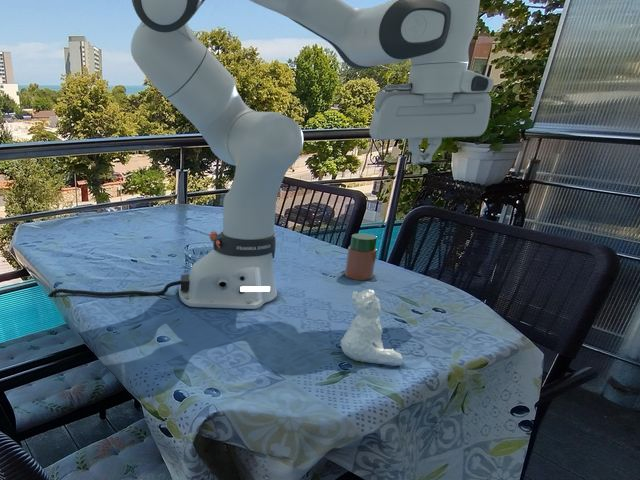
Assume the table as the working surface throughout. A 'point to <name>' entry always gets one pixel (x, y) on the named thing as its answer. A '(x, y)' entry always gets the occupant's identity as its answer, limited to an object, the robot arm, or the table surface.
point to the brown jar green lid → (361, 256)
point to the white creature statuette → (367, 333)
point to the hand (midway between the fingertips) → (420, 163)
